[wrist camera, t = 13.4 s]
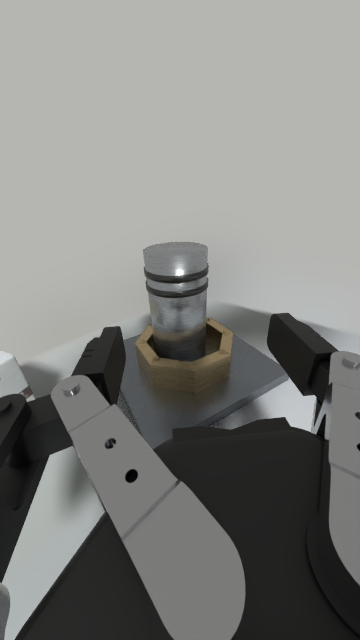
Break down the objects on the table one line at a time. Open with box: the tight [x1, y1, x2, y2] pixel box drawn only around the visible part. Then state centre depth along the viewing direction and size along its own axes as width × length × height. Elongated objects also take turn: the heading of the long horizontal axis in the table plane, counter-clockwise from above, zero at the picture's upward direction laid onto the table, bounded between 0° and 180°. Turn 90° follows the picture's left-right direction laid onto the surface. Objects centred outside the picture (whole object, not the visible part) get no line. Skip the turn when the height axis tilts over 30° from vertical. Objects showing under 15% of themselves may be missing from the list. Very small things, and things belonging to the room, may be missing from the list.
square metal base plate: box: [120, 317, 289, 450], centre depth 23 cm, size 14×14×4 cm
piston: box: [143, 242, 208, 362], centre depth 20 cm, size 5×5×11 cm
